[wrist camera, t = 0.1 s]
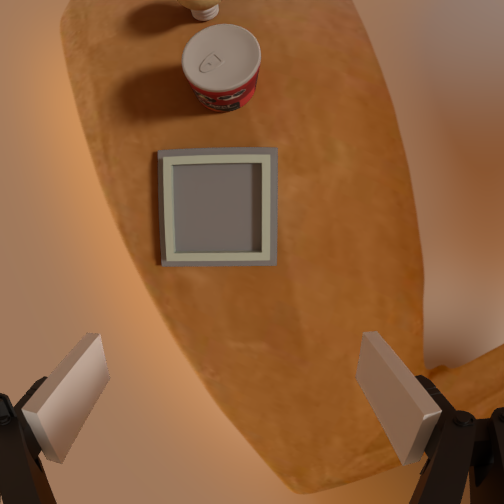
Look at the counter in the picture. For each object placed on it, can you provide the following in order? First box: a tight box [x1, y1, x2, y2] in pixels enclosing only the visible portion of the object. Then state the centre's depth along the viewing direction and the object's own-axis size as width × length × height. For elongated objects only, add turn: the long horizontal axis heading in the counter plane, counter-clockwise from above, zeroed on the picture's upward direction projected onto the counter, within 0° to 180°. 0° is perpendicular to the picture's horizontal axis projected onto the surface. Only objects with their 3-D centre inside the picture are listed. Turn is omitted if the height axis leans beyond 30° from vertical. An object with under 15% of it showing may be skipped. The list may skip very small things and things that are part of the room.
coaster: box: [158, 147, 278, 266], centre depth 40 cm, size 15×15×2 cm
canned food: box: [182, 24, 261, 112], centre depth 32 cm, size 8×8×11 cm
